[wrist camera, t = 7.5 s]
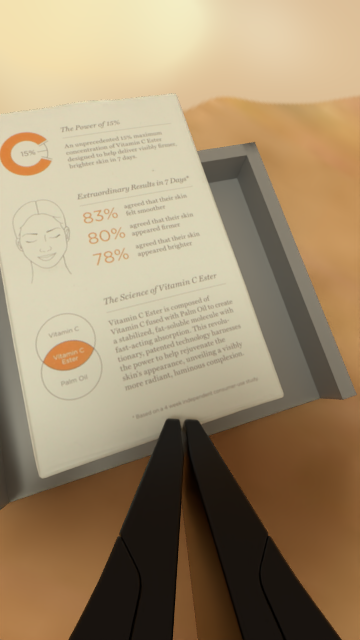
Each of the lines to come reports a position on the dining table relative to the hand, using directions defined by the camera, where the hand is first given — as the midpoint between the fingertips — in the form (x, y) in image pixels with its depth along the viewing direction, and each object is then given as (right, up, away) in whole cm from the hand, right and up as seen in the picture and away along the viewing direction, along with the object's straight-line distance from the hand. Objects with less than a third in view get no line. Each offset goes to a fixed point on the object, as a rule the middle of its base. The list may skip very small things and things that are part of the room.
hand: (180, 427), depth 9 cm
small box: (-1, -1, +3) cm, 3 cm away
